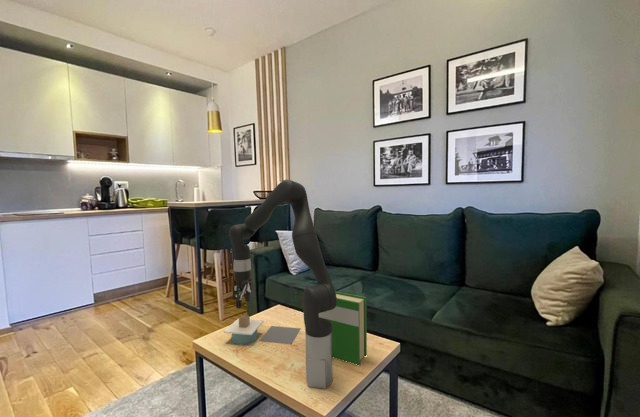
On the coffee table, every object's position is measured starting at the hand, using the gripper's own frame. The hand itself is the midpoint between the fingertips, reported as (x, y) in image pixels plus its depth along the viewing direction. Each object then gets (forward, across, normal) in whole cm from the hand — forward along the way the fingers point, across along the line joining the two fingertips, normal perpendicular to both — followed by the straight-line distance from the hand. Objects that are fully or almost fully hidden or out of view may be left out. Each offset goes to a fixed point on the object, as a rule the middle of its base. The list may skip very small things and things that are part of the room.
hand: (243, 304), depth 129 cm
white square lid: (+10, 0, 0) cm, 10 cm away
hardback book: (+16, -5, -45) cm, 48 cm away
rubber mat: (+16, +6, -15) cm, 23 cm away
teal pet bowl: (+16, 0, 0) cm, 16 cm away
